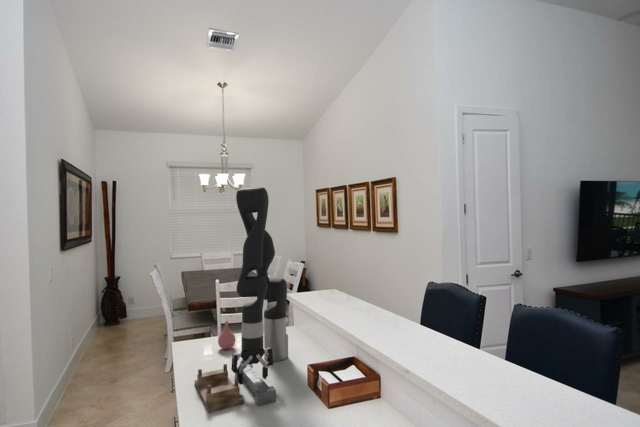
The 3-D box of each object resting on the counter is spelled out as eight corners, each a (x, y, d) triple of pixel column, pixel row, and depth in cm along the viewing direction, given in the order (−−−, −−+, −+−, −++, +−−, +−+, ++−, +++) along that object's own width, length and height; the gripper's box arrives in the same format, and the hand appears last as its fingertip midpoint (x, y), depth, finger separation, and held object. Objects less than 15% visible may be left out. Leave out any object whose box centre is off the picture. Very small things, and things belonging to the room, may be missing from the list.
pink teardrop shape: (229, 352, 165) (229, 325, 165) (214, 350, 168) (214, 323, 168) (238, 346, 173) (238, 320, 173) (224, 344, 175) (223, 319, 175)
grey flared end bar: (250, 372, 144) (250, 362, 144) (276, 402, 122) (275, 389, 122) (234, 376, 141) (234, 365, 141) (258, 406, 119) (258, 394, 119)
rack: (225, 377, 140) (225, 360, 140) (243, 403, 121) (243, 383, 121) (194, 384, 134) (194, 366, 134) (208, 412, 115) (208, 391, 115)
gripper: (268, 328, 138) (268, 372, 138) (229, 334, 131) (229, 381, 131) (275, 333, 131) (275, 380, 131) (235, 340, 125) (235, 389, 125)
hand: (252, 380), depth 131 cm, fingers open, 8 cm apart
